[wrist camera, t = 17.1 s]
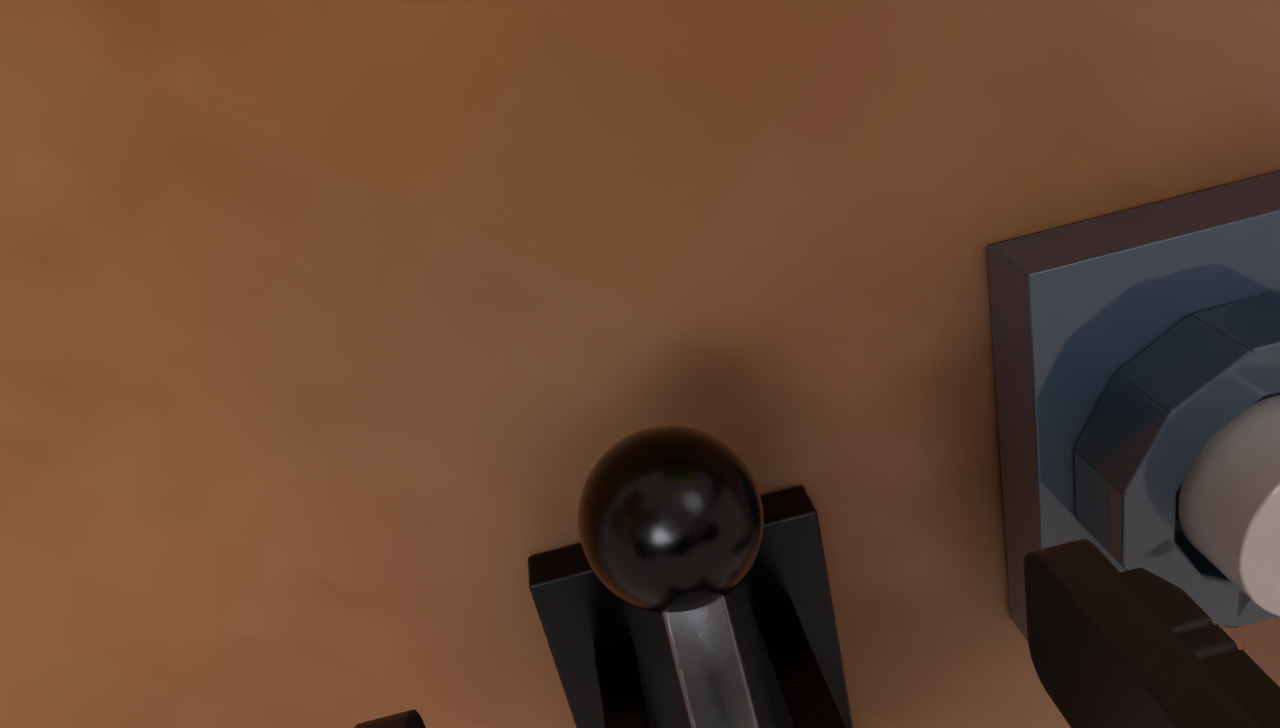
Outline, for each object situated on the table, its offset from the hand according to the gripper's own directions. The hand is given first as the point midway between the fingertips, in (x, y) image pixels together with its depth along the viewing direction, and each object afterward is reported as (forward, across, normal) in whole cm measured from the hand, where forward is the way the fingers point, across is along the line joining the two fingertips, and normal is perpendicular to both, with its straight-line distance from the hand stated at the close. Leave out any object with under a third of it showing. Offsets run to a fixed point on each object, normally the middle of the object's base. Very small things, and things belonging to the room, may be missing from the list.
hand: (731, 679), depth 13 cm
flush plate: (+11, -13, +5) cm, 17 cm away
